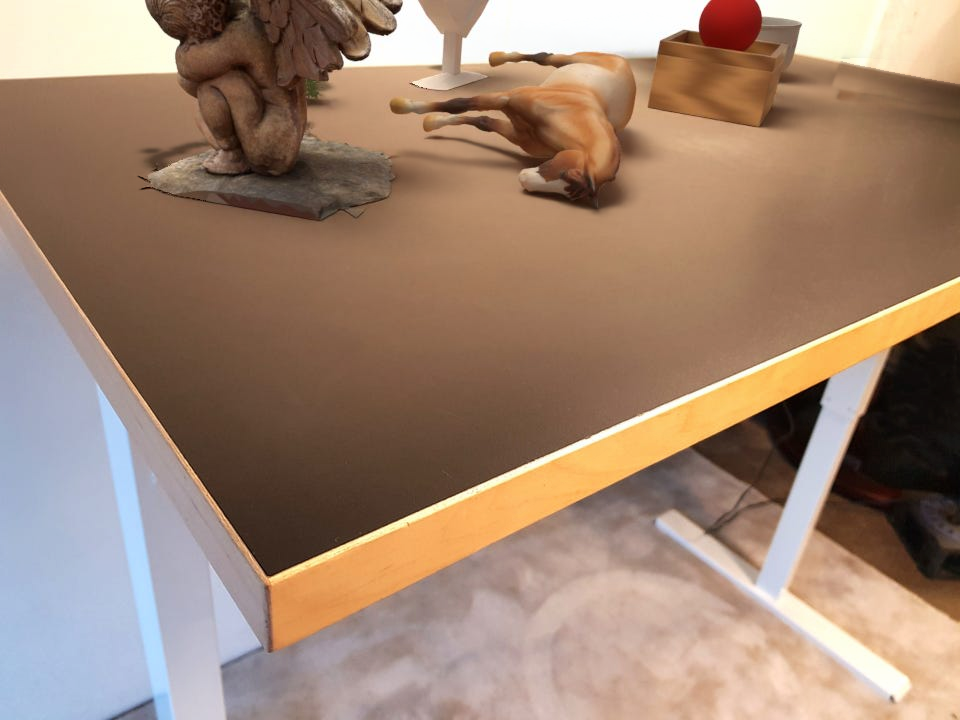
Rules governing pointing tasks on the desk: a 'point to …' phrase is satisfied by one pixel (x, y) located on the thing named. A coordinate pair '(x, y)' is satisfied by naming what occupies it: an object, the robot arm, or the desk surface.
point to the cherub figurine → (271, 102)
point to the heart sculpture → (452, 39)
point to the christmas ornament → (730, 24)
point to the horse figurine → (553, 119)
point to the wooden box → (716, 79)
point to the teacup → (781, 34)
